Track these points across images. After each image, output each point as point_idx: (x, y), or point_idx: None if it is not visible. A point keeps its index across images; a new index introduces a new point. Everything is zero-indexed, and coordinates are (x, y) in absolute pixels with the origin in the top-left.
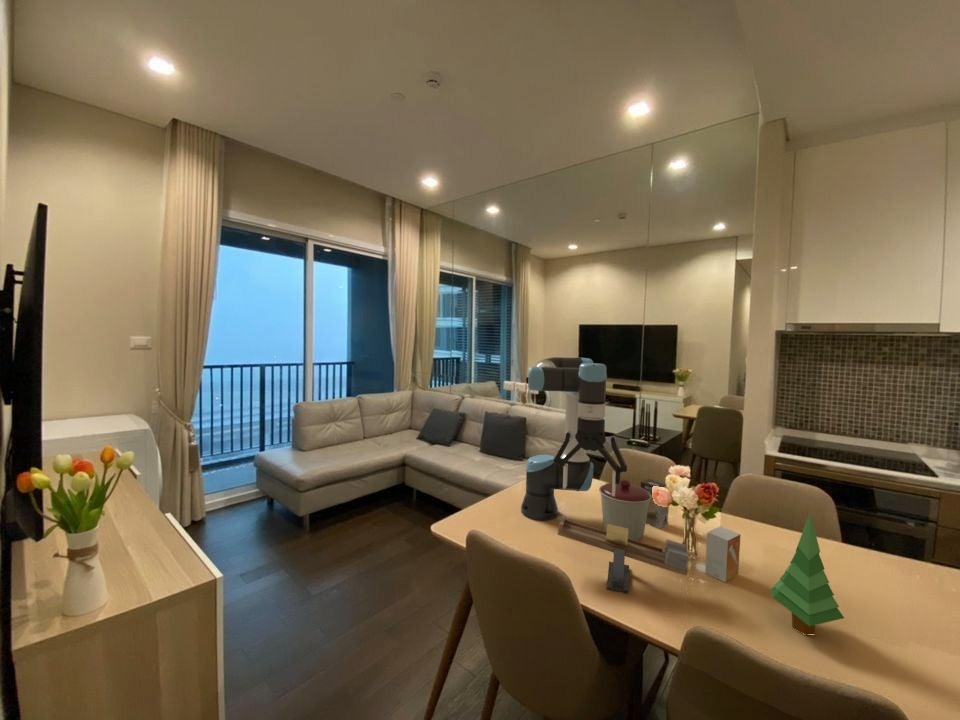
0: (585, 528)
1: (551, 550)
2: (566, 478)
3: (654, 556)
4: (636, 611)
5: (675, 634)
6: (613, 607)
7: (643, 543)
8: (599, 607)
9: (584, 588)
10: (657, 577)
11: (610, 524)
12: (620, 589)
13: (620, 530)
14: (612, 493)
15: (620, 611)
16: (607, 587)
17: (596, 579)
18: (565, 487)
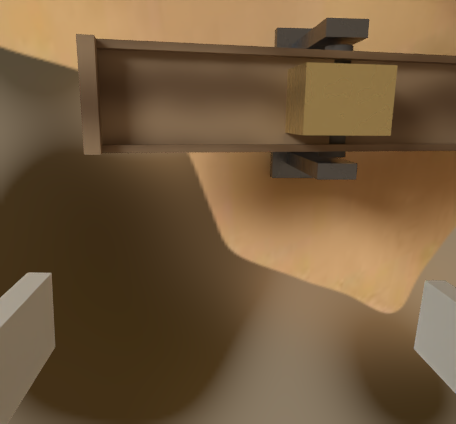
0: (198, 53)
1: (71, 6)
2: (20, 355)
3: (450, 119)
4: (340, 238)
5: (413, 284)
6: (287, 244)
7: (430, 59)
8: (254, 258)
9: (211, 193)
10: (416, 52)
11: (319, 64)
12: (308, 177)
13: (361, 105)
14: (429, 359)
15: (303, 253)
16: (273, 177)
17: None
18: (51, 348)
